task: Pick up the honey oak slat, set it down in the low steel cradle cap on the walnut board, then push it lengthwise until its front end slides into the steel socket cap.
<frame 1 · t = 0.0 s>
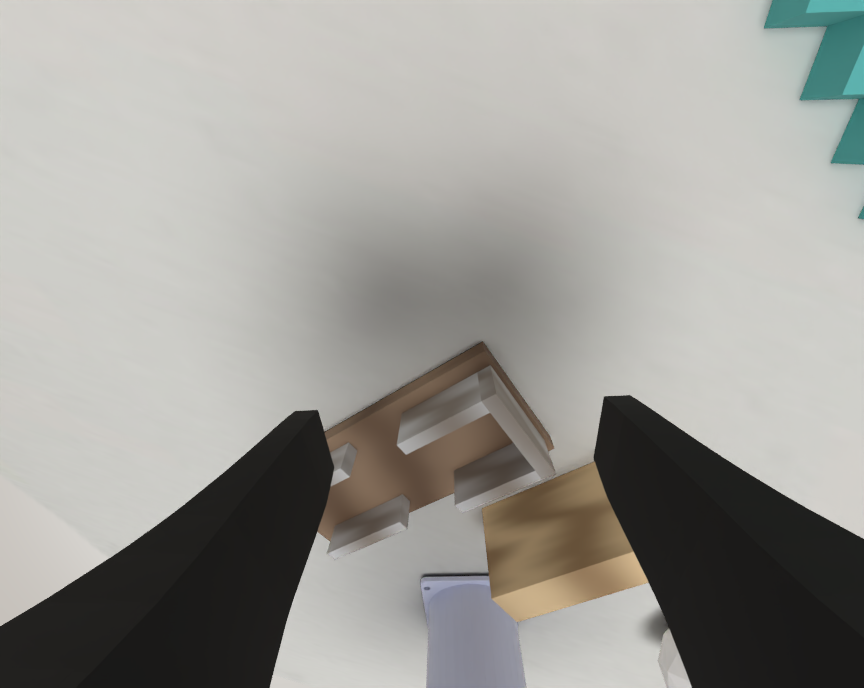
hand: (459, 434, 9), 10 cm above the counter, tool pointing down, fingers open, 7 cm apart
geometric ball: (687, 619, 32), on the counter
oak slat: (562, 490, 25), on the counter
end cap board: (413, 445, 23), on the counter
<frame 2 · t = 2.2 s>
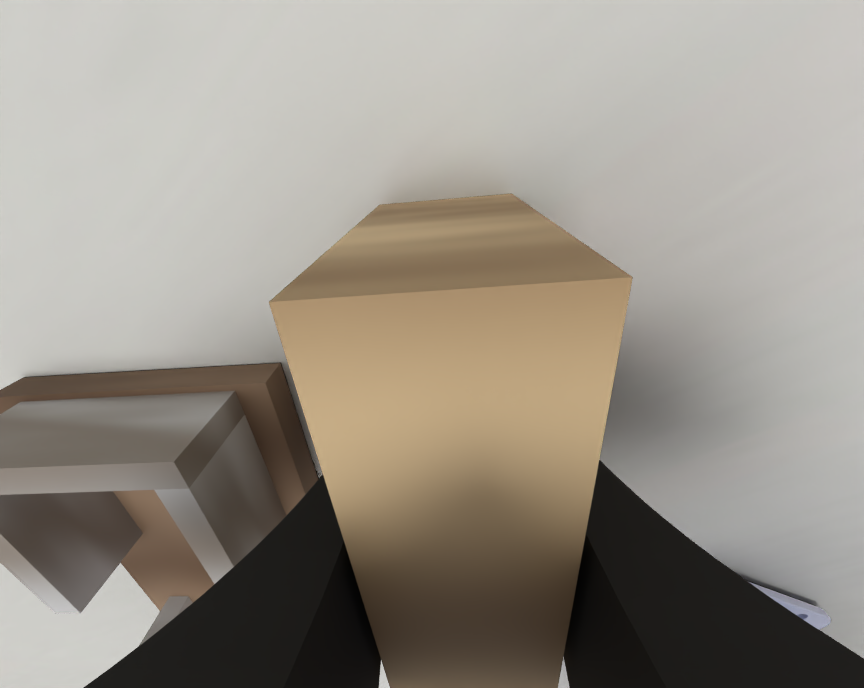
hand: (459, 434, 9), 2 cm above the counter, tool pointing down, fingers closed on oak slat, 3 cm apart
oak slat: (456, 395, 11), on the counter, touching gripper
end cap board: (234, 532, 14), on the counter
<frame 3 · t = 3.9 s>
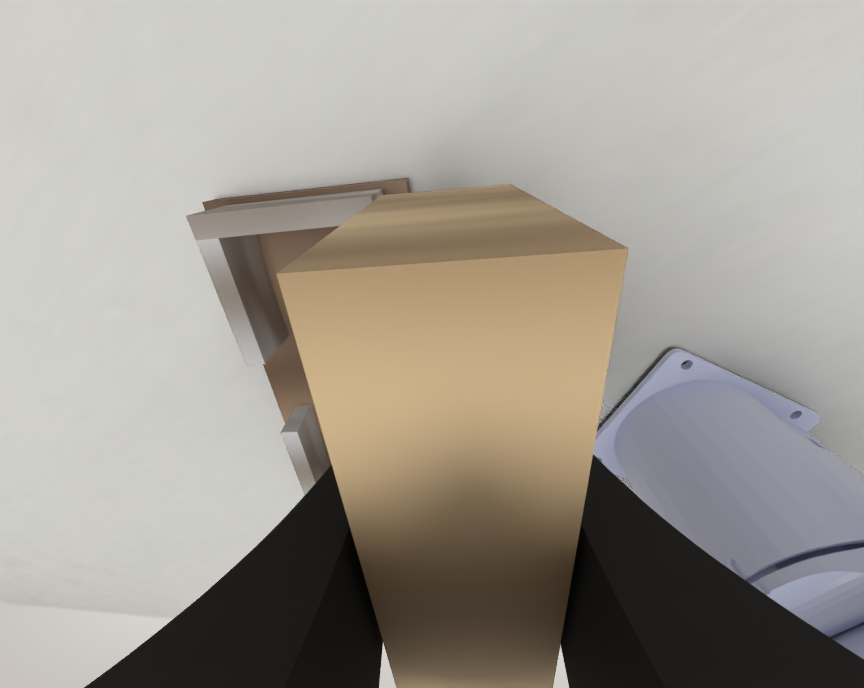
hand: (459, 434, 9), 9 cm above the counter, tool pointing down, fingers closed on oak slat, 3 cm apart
oak slat: (456, 386, 11), point 7 cm above the counter, touching gripper
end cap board: (348, 349, 18), on the counter
when the fingers open (4 cm above the counter, at t = 5.6 s): oak slat drops 1 cm, resting on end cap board.
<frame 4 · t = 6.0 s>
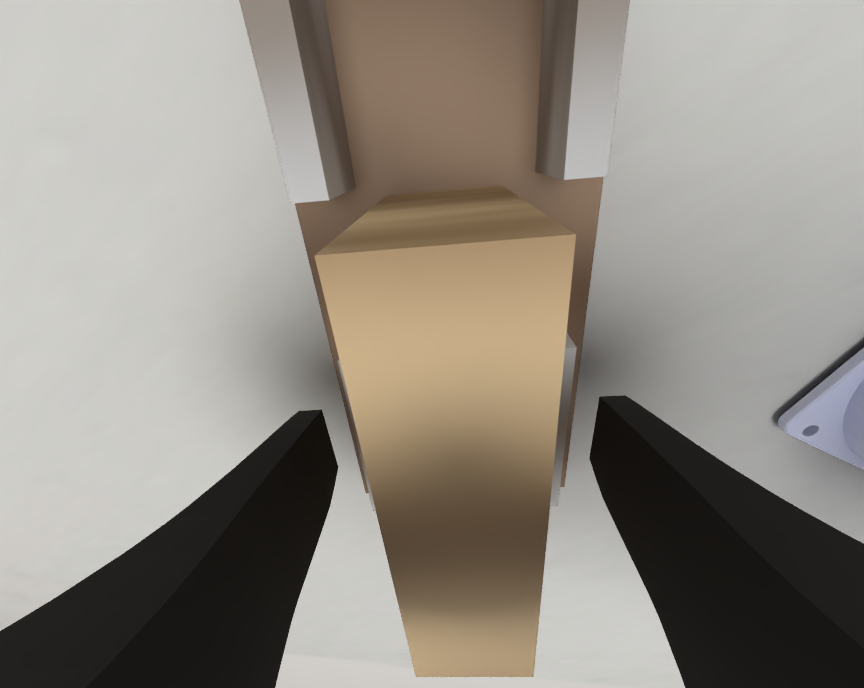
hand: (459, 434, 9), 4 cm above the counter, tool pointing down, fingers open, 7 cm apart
oak slat: (455, 369, 12), point 1 cm above the counter, touching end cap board
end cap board: (447, 232, 11), on the counter
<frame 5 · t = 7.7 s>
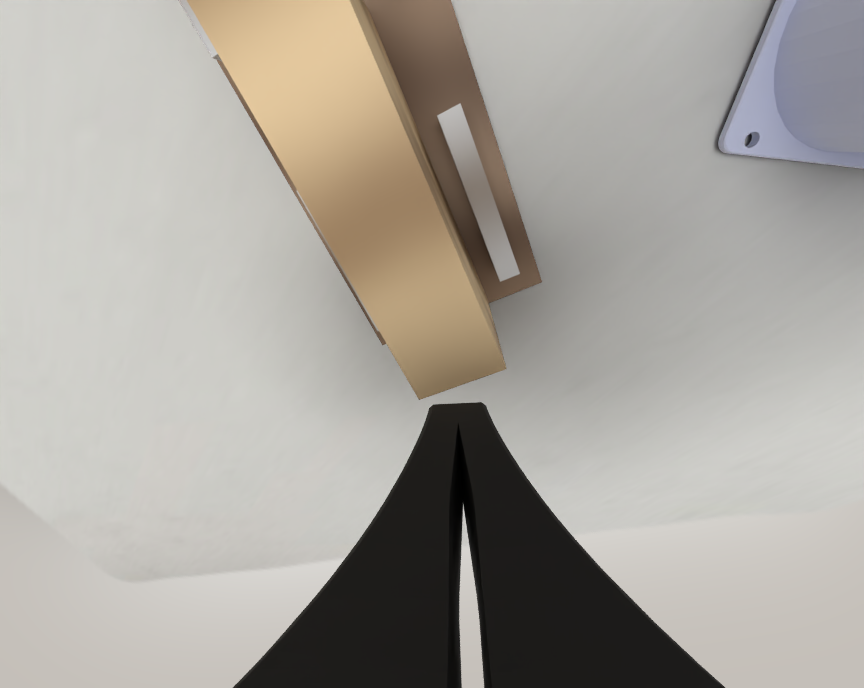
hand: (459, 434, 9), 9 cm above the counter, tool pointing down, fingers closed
oak slat: (403, 194, 15), point 1 cm above the counter, touching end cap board
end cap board: (355, 80, 14), on the counter
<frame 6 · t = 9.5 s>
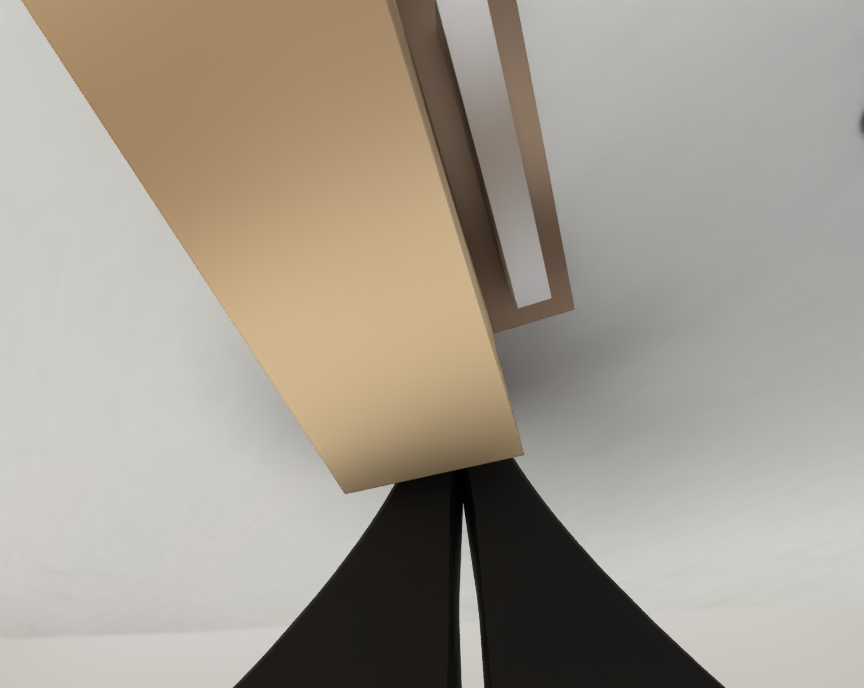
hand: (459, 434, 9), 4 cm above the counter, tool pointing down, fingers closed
oak slat: (363, 117, 9), point 1 cm above the counter, touching gripper
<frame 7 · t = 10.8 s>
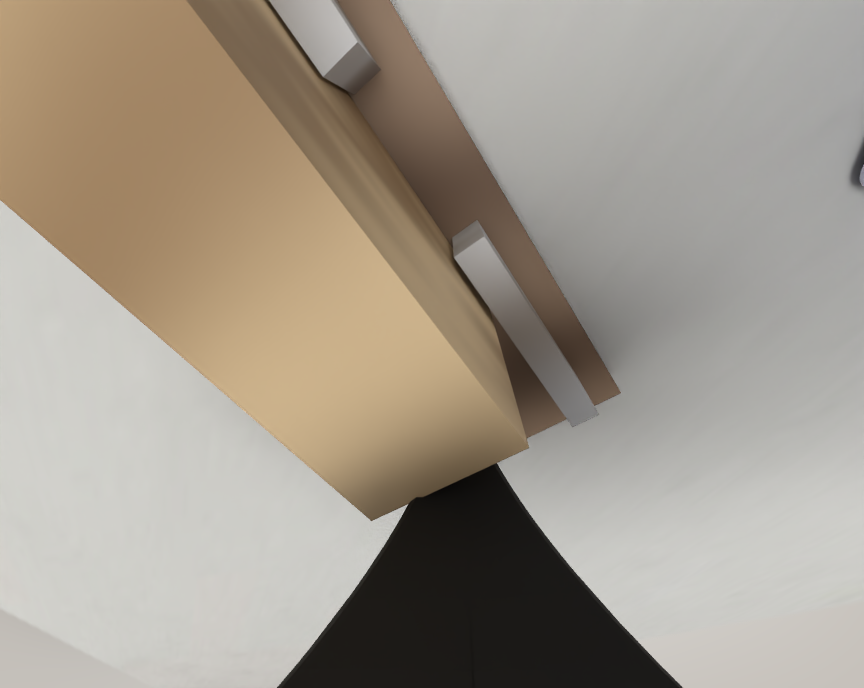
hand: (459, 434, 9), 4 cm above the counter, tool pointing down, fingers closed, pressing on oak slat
oak slat: (319, 160, 9), point 1 cm above the counter, touching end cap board, gripper
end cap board: (337, 205, 11), on the counter
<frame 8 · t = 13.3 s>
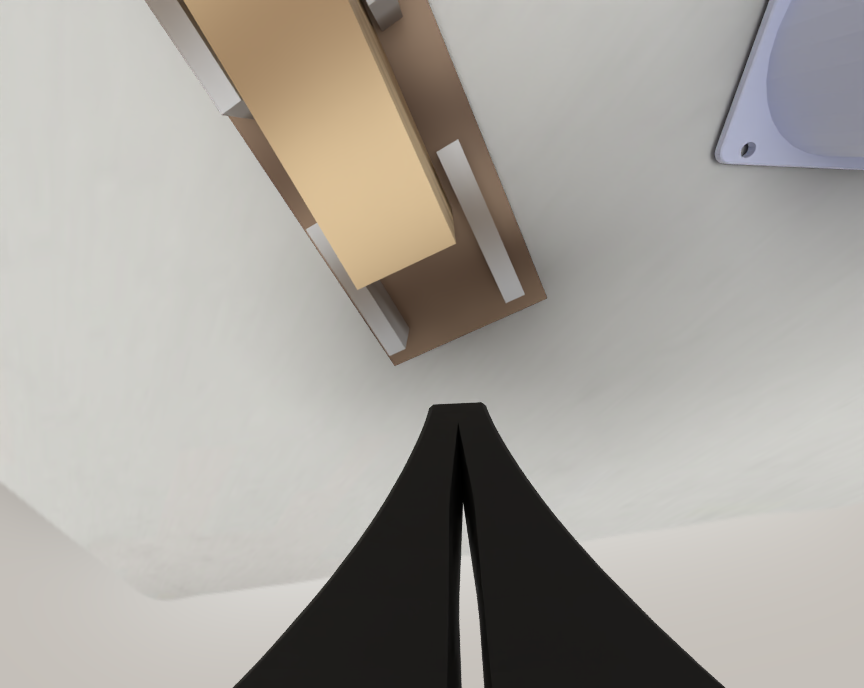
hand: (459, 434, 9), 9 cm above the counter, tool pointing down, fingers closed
oak slat: (348, 79, 13), point 1 cm above the counter, touching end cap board
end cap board: (356, 118, 14), on the counter
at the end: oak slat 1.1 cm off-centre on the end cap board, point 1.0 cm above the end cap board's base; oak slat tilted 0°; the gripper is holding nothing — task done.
